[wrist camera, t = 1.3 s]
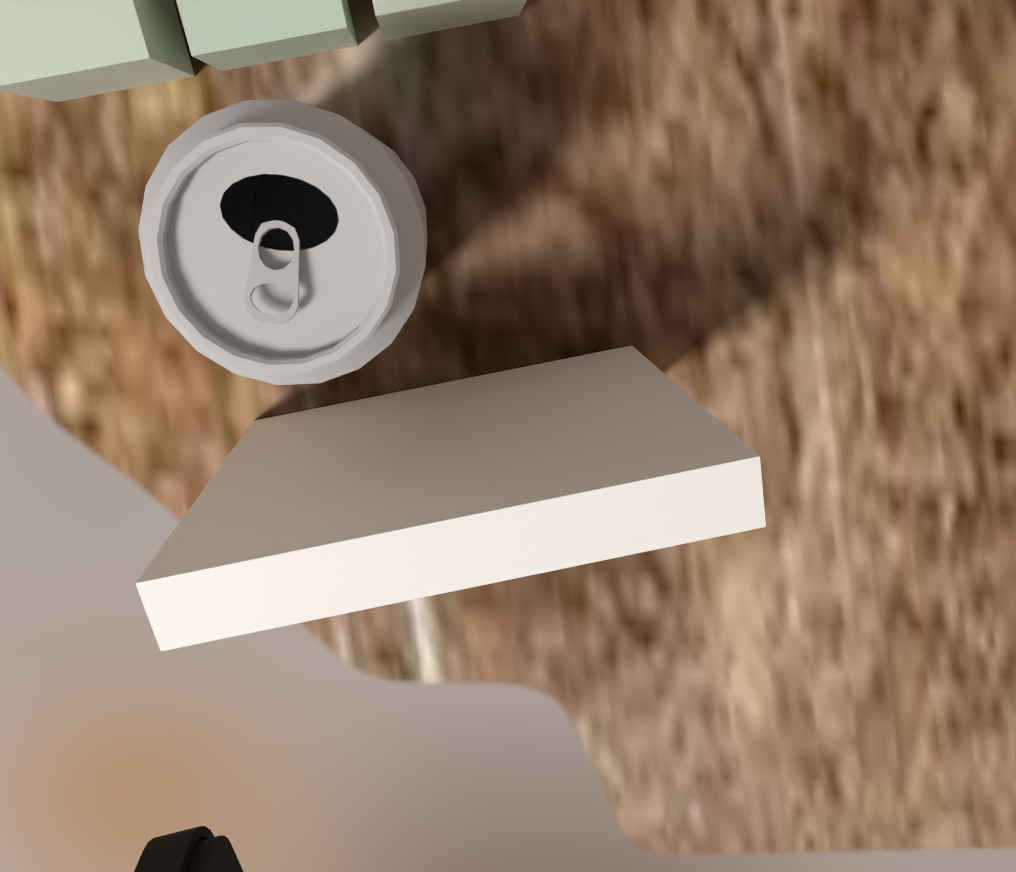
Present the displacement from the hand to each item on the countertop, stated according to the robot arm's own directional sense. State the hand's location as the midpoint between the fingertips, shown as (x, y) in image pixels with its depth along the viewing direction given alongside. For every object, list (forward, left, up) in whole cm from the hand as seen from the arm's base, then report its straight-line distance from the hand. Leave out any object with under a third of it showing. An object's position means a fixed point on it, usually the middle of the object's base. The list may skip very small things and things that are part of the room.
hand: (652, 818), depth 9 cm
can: (-6, -5, -26) cm, 27 cm away
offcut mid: (-14, -5, -26) cm, 30 cm away
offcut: (-14, -11, -26) cm, 31 cm away
